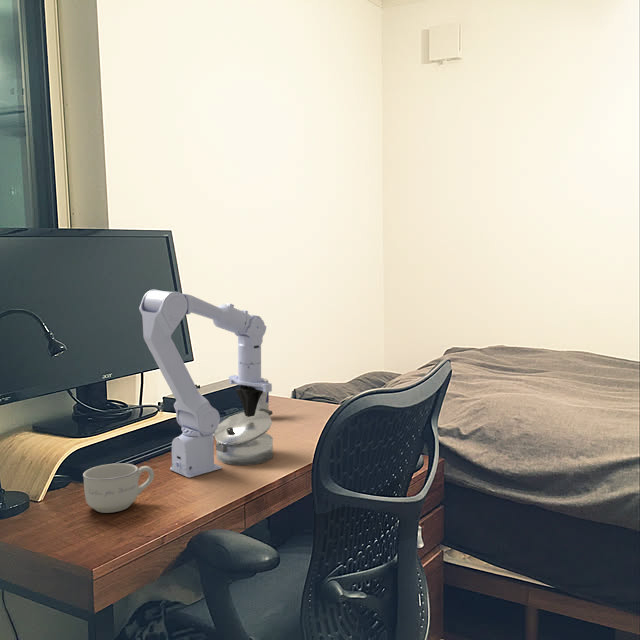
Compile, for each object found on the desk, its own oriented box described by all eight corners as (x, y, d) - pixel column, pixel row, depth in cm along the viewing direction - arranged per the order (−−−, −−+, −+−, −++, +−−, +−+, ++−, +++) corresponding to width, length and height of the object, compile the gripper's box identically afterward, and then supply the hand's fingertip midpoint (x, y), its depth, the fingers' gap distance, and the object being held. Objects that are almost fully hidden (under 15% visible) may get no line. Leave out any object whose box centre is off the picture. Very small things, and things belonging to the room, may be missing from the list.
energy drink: (270, 417, 213) (270, 378, 212) (267, 421, 208) (266, 382, 207) (252, 416, 214) (252, 378, 212) (249, 421, 209) (249, 381, 207)
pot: (237, 470, 165) (237, 451, 164) (202, 456, 175) (202, 439, 174) (284, 456, 175) (284, 439, 175) (248, 444, 185) (248, 428, 184)
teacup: (82, 520, 135) (81, 480, 134) (85, 500, 145) (83, 463, 144) (156, 513, 139) (155, 474, 138) (153, 494, 149) (152, 457, 148)
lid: (240, 450, 164) (237, 442, 164) (203, 437, 175) (201, 430, 174) (286, 418, 174) (284, 410, 173) (249, 407, 184) (247, 400, 184)
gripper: (281, 364, 171) (281, 418, 173) (243, 356, 181) (244, 407, 183) (259, 368, 166) (259, 423, 168) (222, 360, 176) (222, 412, 178)
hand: (249, 415), depth 175 cm, fingers closed
